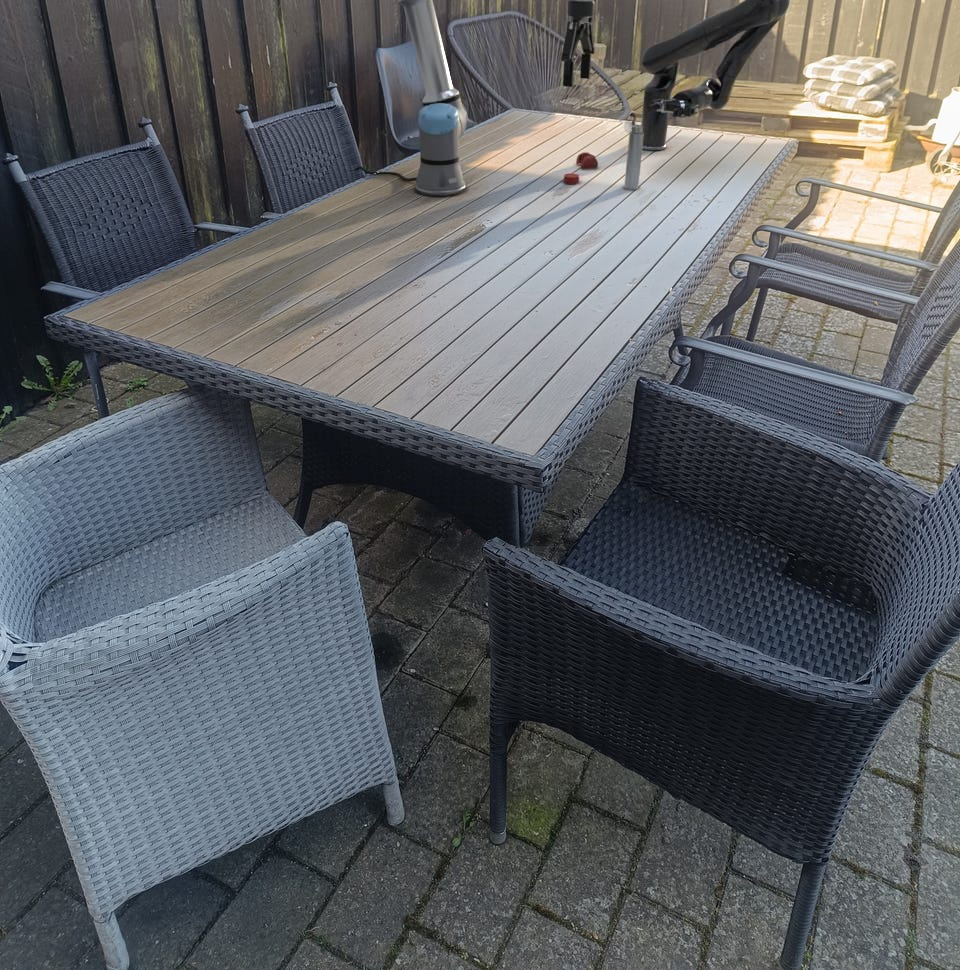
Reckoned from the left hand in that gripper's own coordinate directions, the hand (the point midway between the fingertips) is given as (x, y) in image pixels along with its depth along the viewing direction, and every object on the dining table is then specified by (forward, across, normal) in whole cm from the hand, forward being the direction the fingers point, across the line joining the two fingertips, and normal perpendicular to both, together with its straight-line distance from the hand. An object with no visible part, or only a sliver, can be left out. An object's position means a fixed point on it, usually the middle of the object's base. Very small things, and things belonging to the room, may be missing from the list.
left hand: (576, 82), depth 248 cm
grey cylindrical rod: (+29, +3, -19) cm, 35 cm away
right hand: (+8, +14, -23) cm, 28 cm away
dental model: (+29, +19, +2) cm, 35 cm away
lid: (+27, 0, 0) cm, 27 cm away
